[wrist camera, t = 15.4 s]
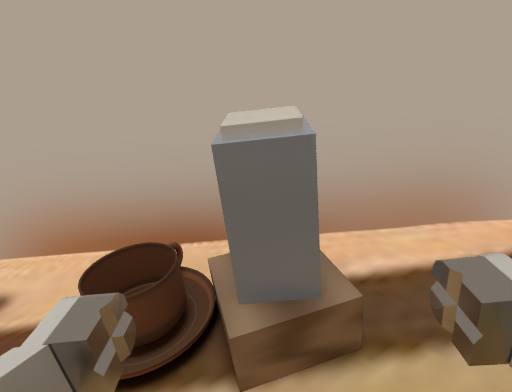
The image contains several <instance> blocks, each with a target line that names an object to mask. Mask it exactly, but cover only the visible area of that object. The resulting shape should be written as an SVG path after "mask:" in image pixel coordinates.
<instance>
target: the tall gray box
mask: <svg viewBox="0 0 512 392" xmlns="http://www.w3.org/2000/svg"><path fill="white" fill-rule="evenodd" d="M220 127H221V129H220V131H219V132H218V134H217V136H216V137H215V139H214V141H213V142H212V144H211V147H212V152H213V158H214V163H215V169H216V175H217V181H218V187H219V192H220V198H221V204H222V209H223V215H224V221H225V226H226V232H227V238H228V244H229V249H230V255H231V261H232V267H233V272H234V278H235V284H236V289H237V295H238V301H239V304H247V303H261V302H274V301H288V300H301V299H315V298H321V274H320V246H319V220H318V191H317V161H316V134H315V132H314V131H313V129H312V128H311V127H310V125H309V124H308V122H307V121H306V119H305V118H304V116H302V115H301V114H300V112H299V111H298V110H297V108H296V107H295V106H287V107H278V108H269V109H261V110H251V111H243V112H234V113H228V115H227V116H226V118H225V120H224V121H223V123H222V125H221V126H220Z"/></svg>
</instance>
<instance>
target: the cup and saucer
mask: <svg viewBox="0 0 512 392" xmlns="http://www.w3.org/2000/svg"><path fill="white" fill-rule="evenodd" d="M174 249H175V250H176V251H175V250H174ZM176 252H177V253H176ZM182 259H183V251H182V248H181V246H180V245H179V244H178V243H176V242H171V243H169V244H168V245H166V244H162V243H140V244H135V245H131V246H127V247H124V248H121V249H118V250H116V251H114V252H111V253H109V254H107V255H105V256H104V257H102V258H100V259H99V260H97V261H96V262H95V263H93V264H92V265H91V266H90V267H89V268H88V269H87V270H86V271H85V272H84V273H83V275H82V276H81V278H80V280H79V283H78V289H79V292H80V295H81V296H84V295H94V294H107V293H121V294H124V296H125V299H126V301H127V303H128V305H127V307H126V309H125V312H127V313H128V314H129V315H131V316H132V317H133V319H134V322H135V327H136V338H135V345H134V347H133V349H132V352H131V354H130V355H129V356H128V357H127V358H126V359H125V360H124V361H122V362H121V363H122V366H123V369H124V370H123V373H122V375H121V377H120V379H126V378H131V377H135V376H139V375H142V374H145V373H148V372H150V371H152V370H155V369H157V368H159V367H161V366H163V365H165V364H167V363H168V362H170V361H172V360H173V359H175V358H176V357H178V356H179V355H181V354H182V353H183V352H184V351H186V350H187V349H188V348H189V347H190V346H191V345H192V344H193V343H194V342H195V341H196V340H197V339H198V338H199V337H200V336H201V334H202V333H203V332H204V330H205V329H206V327H207V326H208V324H209V322H210V320H211V318H212V315H213V312H214V307H215V291H214V287H213V285H212V283H211V282H210V280H209V279H208V278H207V277H206V276H205V275H204V274H202V273H200V272H199V271H196V270H194V269H191V268H187V267H181V263H182ZM120 379H119V380H120Z"/></svg>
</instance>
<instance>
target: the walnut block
mask: <svg viewBox="0 0 512 392" xmlns="http://www.w3.org/2000/svg"><path fill="white" fill-rule="evenodd" d="M208 263H209V268H210V273H211V277H212V282H213V287H214V291H215V296H216V301H217V305H218V309H219V313H220V317H221V321H222V325H223V328H224V332H225V336H226V340H227V344H228V348H229V352H230V355H231V359H232V363H233V367H234V371H235V375H236V379H237V382H238V386H239V390H240V392H243V391H245V390H248V389H251V388H254V387H256V386H259V385H262V384H265V383H267V382H270V381H273V380H276V379H278V378H281V377H284V376H287V375H289V374H292V373H295V372H298V371H300V370H303V369H306V368H309V367H312V366H314V365H317V364H320V363H323V362H325V361H328V360H331V359H334V358H336V357H339V356H342V355H345V354H347V353H350V352H353V351H356V350H358V349H361V348H362V319H363V295H362V294H361V293H360V292H359V291H358V290H357V289H356V288H355V287H354V286H353V285H352V284H351V282H350V281H349V280H348V279H347V278H346V277H345V276H344V275H343V274H342V273H341V272H340V271H339V270H338V269H337V267H336V266H335V265H334V264H333V263H332V262H331V261H330V260H329V259H328V258H327V257H326V256H325V255H324V254H323V252H322V251H321V250H320V274H321V298H315V299H301V300H288V301H274V302H261V303H247V304H239V301H238V295H237V289H236V284H235V278H234V272H233V267H232V261H231V255H230V253H228V254H224V255H220V256H216V257H212V258H209V259H208Z"/></svg>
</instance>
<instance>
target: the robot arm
mask: <svg viewBox="0 0 512 392" xmlns="http://www.w3.org/2000/svg"><path fill="white" fill-rule="evenodd" d="M432 274H433V276H434V277H435V278H436V279H437V282H436V283H435V284H434V285H433V286H432V287H431V288H430V302H431V307H432V311H433V313H434V315H435V317H436V319H437V320H438V322H439V323H440V325H441V326H442V327H444V328H445V329H447V330H449V331H450V332H452V333H453V337H452V342H453V344H454V345H455V346H456V348H457V349H458V351H459V352H460V354H461V355H462V356H463V358H464V359H465V361H466V362H467V363H468V365H469V366H479V365H497V364H510V365H509V366H510V367H512V259H511V258H509V257H508V256H507V255H504V254H501V253H494V254H486V255H478V256H475V257H465V258H456V259H447V260H437V261H436V262H435V263H434V265H433V271H432ZM127 305H128V303H127V301H126V299H125V296H124V294H121V293H107V294H94V295H84V296H72V297H65V298H63V299H61V300H59V302H58V303H57V304H56V305H55V306H54V308H53V309H52V310H51V311H50V312H49V313H48V315H47V316H46V317H45V318H44V319H43V321H42V322H41V323H40V324H39V325H38V326H37V328H36V329H35V330H34V331H33V332H32V334H31V335H30V336H29V337H28V338H27V339H26V341H25V342H24V343H23V344H22V345H21V347H18V348H13V349H11V350H10V351H8V352H7V353H5V354H3V355H2V356H0V392H114V391H115V388H116V386H117V384H118V382H119V379H120V377H121V375H122V373H123V370H124V369H123V366H122V363H121V362H122V361H124V360H125V359H126V358H127V357H128V356H129V355H130V354H131V352H132V349H133V347H134V345H135V338H136V327H135V322H134V319H133V317H132V316H131V315H129V314H128V313H127V312H125V309H126V307H127Z"/></svg>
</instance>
